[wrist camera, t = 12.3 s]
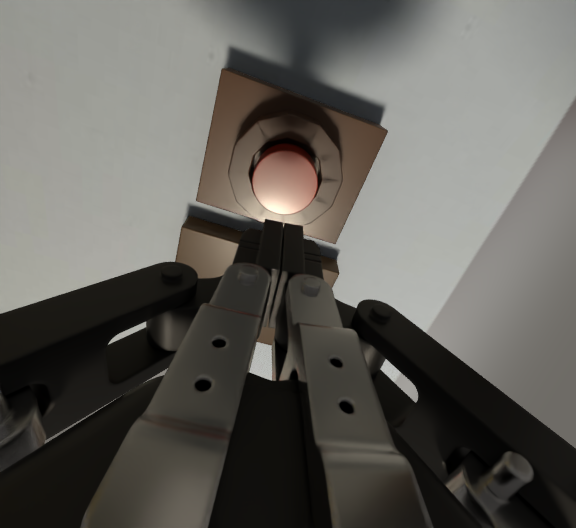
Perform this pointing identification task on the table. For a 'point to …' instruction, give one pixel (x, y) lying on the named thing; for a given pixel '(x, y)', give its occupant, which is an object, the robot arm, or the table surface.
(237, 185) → the block
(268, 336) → the plate
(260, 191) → the button
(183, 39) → the table surface
